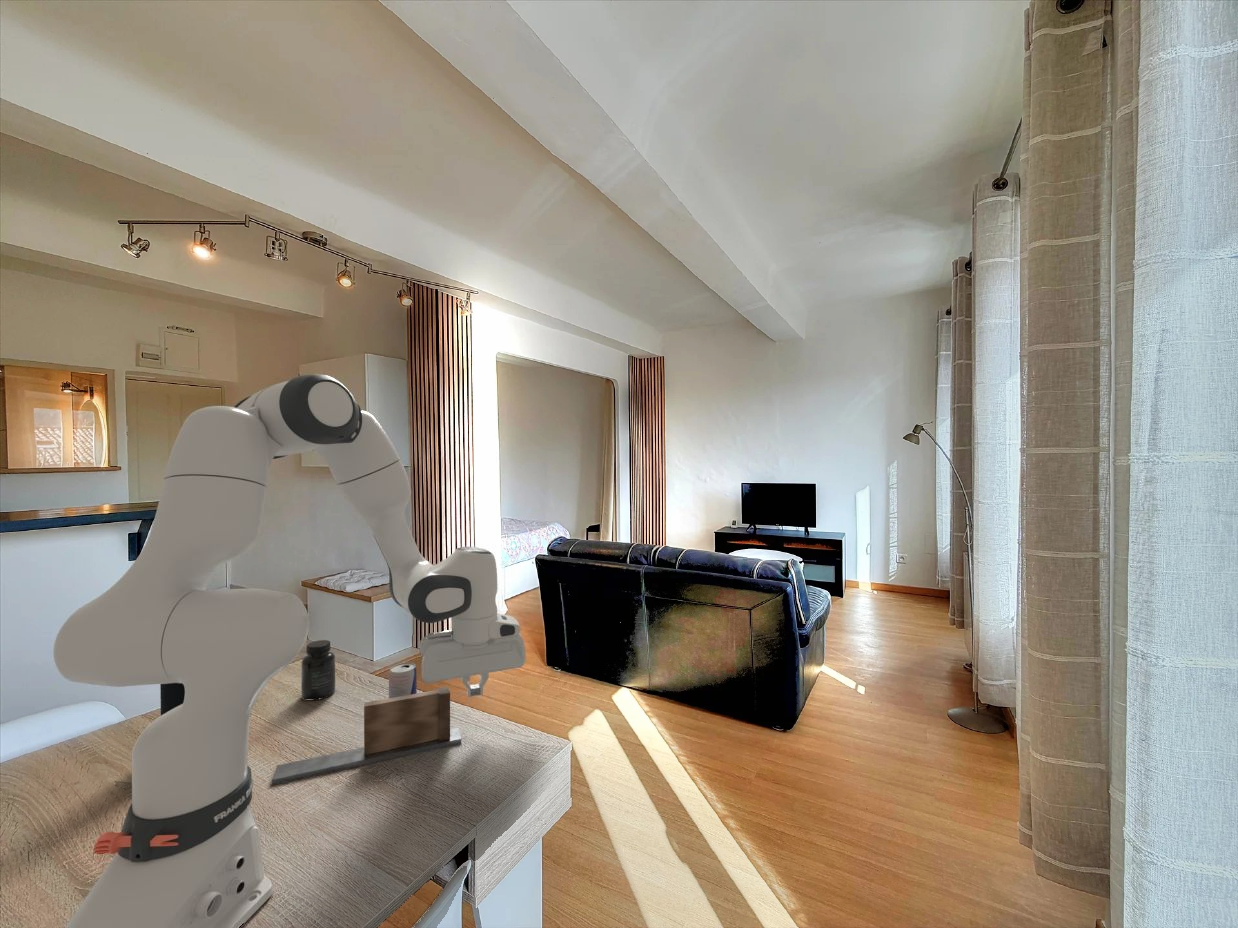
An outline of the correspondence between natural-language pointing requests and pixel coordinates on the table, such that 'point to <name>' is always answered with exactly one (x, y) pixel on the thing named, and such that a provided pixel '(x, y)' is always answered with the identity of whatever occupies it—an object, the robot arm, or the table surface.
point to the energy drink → (402, 680)
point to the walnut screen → (406, 720)
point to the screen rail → (353, 759)
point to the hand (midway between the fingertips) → (474, 694)
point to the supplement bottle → (318, 670)
